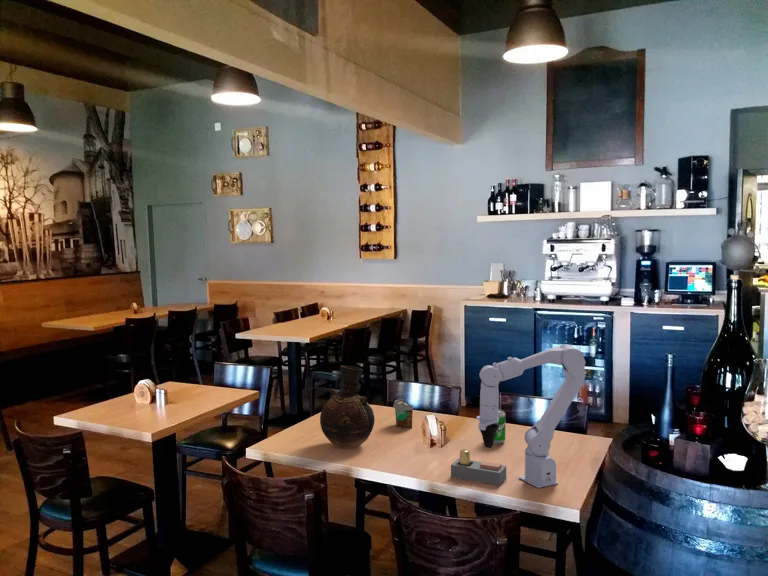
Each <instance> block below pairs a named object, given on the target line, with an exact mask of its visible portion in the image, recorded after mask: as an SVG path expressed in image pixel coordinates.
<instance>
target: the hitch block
mask: <svg viewBox="0 0 768 576" xmlns="http://www.w3.org/2000/svg"><path fill="white" fill-rule="evenodd" d="M482 462H483V461H479V460H478V461H477V460H471V459H470V467H469V466H463V465H460V457H459V458H457V459H456V460H455V461H454V462H453V463H451V465H450V478H453V479H458V480H459V479H460V480H463V481H464V480H465V481H471V482H476V483H483V484H488V485H494V486H500V487H501V485H503V483H504V481H506V479H507V465H504V464H503V465H502V464H501V468H500V469H499V470H494V469H487V468H481V467H480V464H481V463H482Z"/></svg>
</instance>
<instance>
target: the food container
mask: <svg viewBox="0 0 768 576" xmlns="http://www.w3.org/2000/svg"><path fill="white" fill-rule="evenodd" d="M392 407H393V408H394V411H395V414H394V415H395V423H396V424H395V426H396V427H397V428H399V427H401V428H400V429H404V428H411V429H413V414H414V413H413V411H414V405H413V404H409V403H408V402H406V401H405V399H404V398H399V399H396V400H395V401H394V403H393V406H392Z"/></svg>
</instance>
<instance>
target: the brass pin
mask: <svg viewBox="0 0 768 576" xmlns="http://www.w3.org/2000/svg"><path fill="white" fill-rule="evenodd" d="M459 458H460V465H463V466H469V467H470V460H471V450H470V449H467V448H466V449H460V450H459Z"/></svg>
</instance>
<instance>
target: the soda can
mask: <svg viewBox="0 0 768 576" xmlns="http://www.w3.org/2000/svg"><path fill="white" fill-rule="evenodd" d="M498 413H499V422H497V424H499V427H498V429H497V431H496V434H495V438H494V442H493V445H502V444H503V443H504V442H505V441H506V413H505V411H504V410H502V409H500V408H498ZM501 443H502V444H501Z"/></svg>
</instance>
